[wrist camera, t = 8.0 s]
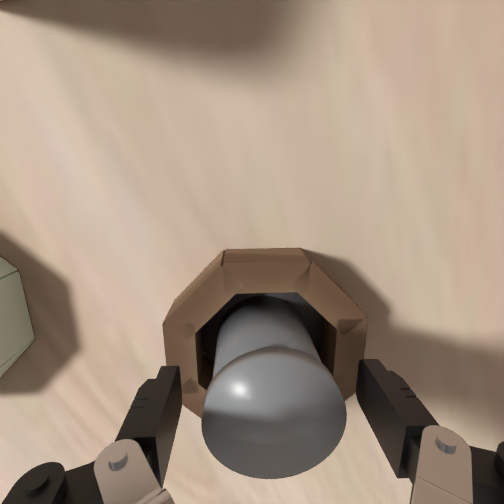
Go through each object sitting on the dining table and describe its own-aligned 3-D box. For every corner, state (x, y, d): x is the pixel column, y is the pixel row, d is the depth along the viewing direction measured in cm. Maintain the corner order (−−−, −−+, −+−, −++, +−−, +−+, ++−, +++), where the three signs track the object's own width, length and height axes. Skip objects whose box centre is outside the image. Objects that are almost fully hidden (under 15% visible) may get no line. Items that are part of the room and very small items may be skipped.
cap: (212, 293, 16) (196, 363, 10) (310, 290, 16) (352, 357, 10) (216, 378, 17) (205, 482, 11) (307, 374, 17) (341, 475, 12)
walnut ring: (169, 250, 16) (156, 265, 13) (353, 246, 16) (374, 260, 14) (182, 404, 18) (174, 440, 16) (340, 398, 19) (355, 432, 16)
